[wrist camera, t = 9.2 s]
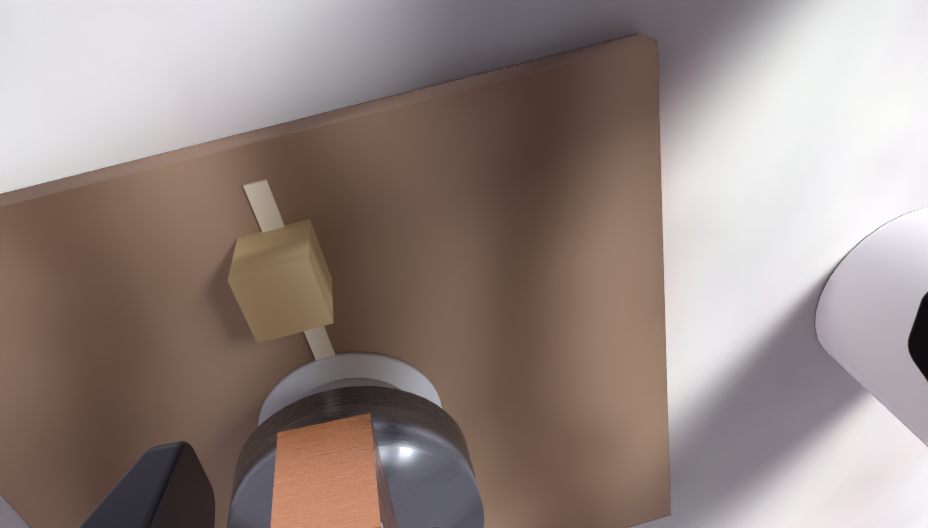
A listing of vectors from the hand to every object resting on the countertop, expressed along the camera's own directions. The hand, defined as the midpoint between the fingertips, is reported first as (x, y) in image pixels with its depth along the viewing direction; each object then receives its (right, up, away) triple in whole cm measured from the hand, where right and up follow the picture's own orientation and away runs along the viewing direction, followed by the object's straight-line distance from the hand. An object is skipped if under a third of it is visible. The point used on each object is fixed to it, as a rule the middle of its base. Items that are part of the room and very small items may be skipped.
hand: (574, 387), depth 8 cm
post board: (-5, -3, +15) cm, 16 cm away
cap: (-5, -5, +12) cm, 14 cm away
